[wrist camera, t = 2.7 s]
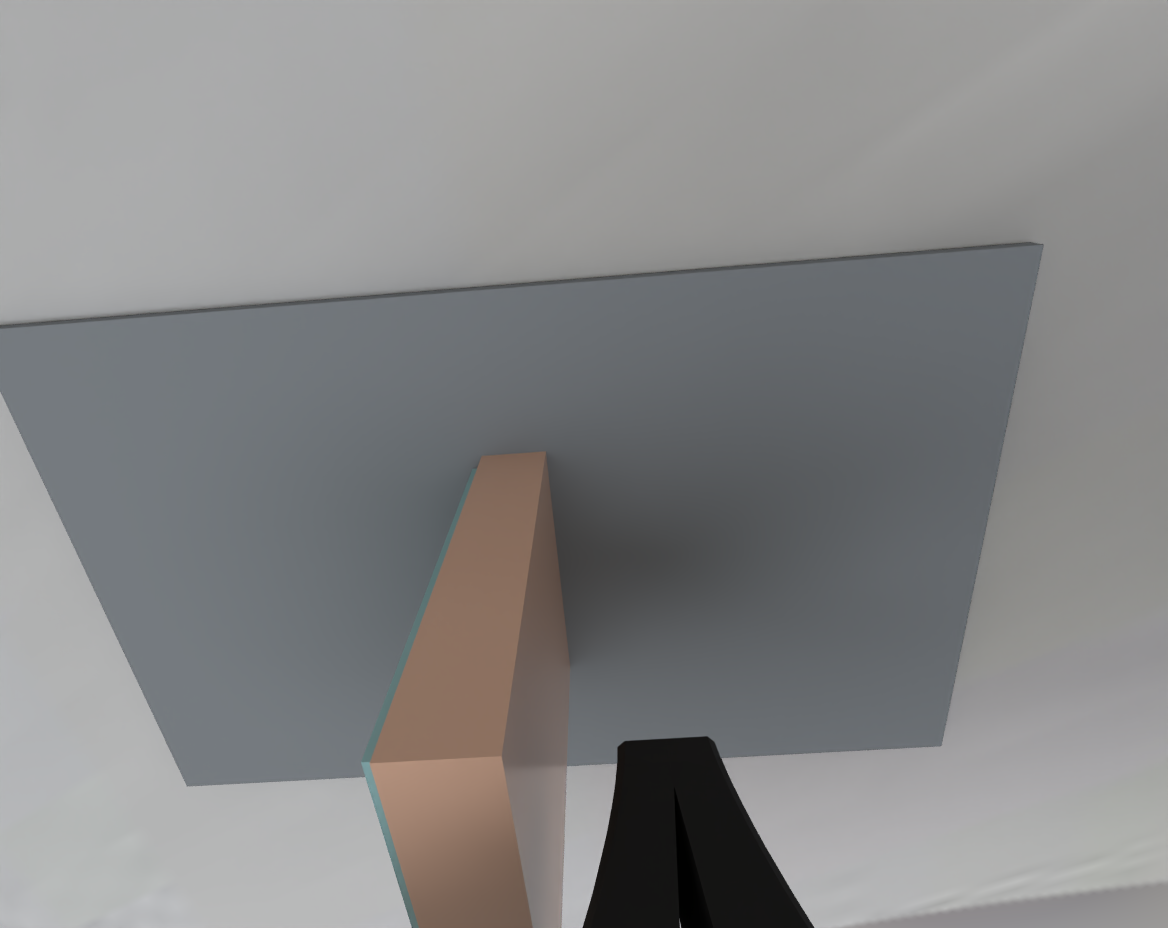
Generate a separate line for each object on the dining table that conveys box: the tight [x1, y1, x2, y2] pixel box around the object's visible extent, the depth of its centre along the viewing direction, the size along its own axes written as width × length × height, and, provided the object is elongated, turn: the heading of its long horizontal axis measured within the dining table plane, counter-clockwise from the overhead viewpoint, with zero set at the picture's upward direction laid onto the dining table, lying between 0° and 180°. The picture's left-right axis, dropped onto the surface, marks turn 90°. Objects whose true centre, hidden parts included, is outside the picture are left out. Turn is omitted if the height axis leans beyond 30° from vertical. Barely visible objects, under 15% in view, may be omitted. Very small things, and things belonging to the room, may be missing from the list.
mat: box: [0, 242, 1044, 786], centre depth 16 cm, size 21×13×1 cm, turn 95°
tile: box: [361, 451, 570, 928], centre depth 12 cm, size 2×6×8 cm, turn 4°
